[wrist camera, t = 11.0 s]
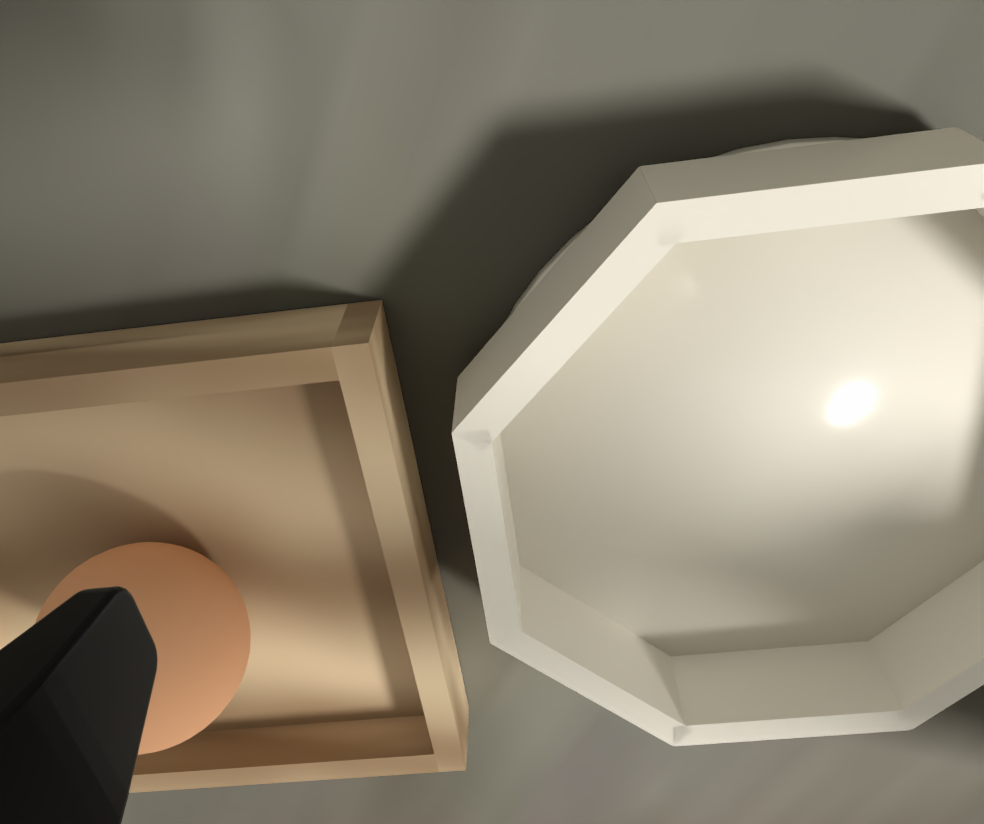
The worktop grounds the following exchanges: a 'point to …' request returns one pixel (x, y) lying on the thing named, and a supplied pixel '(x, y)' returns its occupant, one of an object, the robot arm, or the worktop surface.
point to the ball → (175, 631)
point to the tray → (248, 527)
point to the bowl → (746, 444)
